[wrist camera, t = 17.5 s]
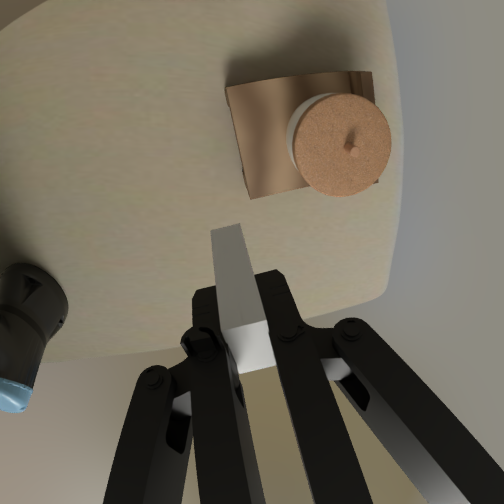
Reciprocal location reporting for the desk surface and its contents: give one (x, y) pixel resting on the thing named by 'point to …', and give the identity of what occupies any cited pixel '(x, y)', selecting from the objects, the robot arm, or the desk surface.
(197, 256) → the desk surface
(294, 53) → the desk surface
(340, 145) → the lidded jar
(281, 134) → the wooden stand
